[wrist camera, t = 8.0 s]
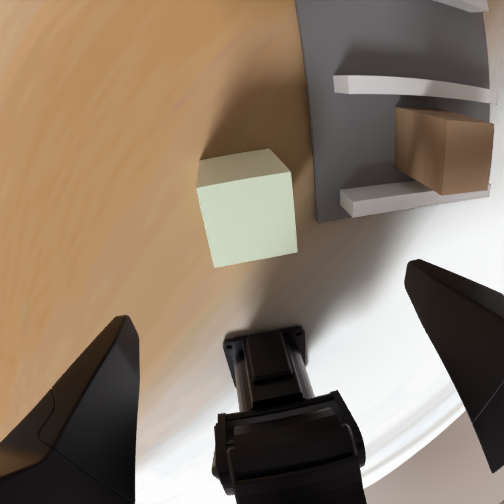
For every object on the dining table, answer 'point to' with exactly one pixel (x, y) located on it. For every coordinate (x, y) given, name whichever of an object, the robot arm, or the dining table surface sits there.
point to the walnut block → (443, 149)
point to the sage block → (247, 207)
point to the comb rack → (385, 92)
